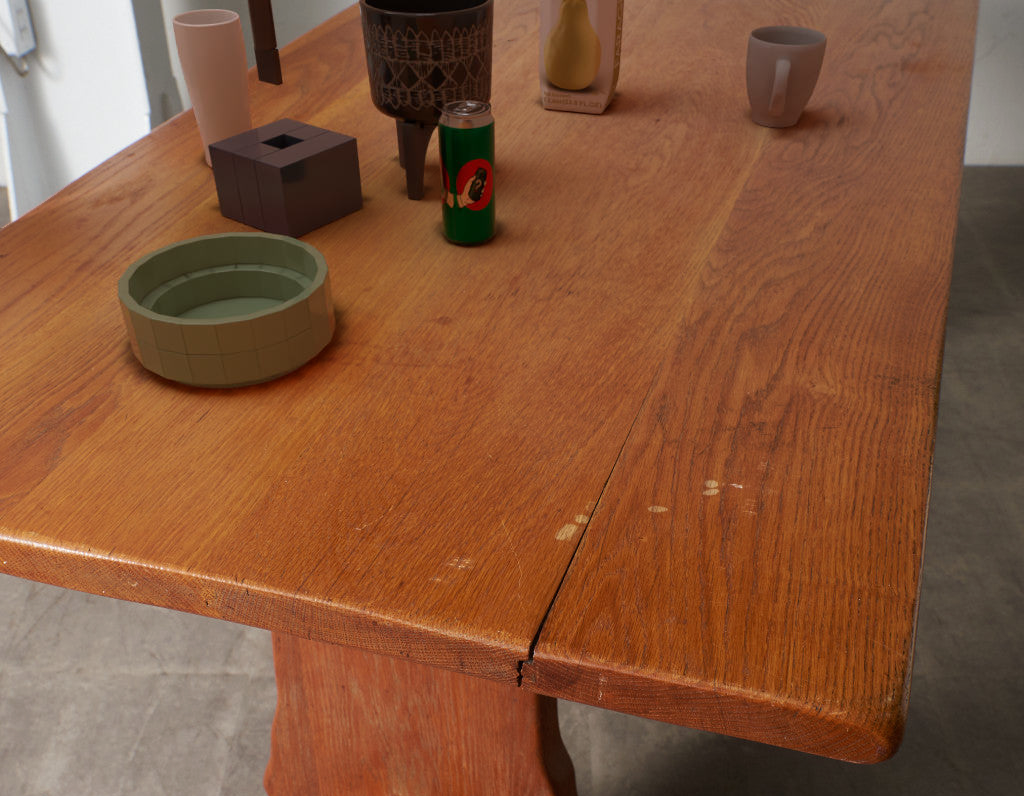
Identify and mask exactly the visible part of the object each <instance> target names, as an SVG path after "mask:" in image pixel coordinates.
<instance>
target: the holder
mask: <svg viewBox="0 0 1024 796" xmlns="http://www.w3.org/2000/svg"><path fill="white" fill-rule="evenodd" d="M208 148H209V153H210V158H211V164H212V168H211V169H212V174H213V179H214V184H215V189H216V194H217V201H218V205H219V211H220V215H221V216H223V217H224V218H228V219H230V220H233V221H236V222H239V223H241V224H245V225H247V226H249V227H253V228H255V229H258V230H260V231H263V232H265V233H271V234H277V235H284V236H288V237H292V238H294V239H297V238H299V237H301V236H304V235H306V234H308V233H310V232H312V231H315V230H317V229H320V228H321V227H323V226H325V225H328V224H330V223H332V222H335V221H337V220H339V219H340V218H344V217H345V216H347V215H349V214H351V213H354V212H356V211H359V210H361V209H363V208H364V199H363V192H362V181H361V171H360V161H359V150H358V139H357V137H354V136H351V135H348V134H344V133H341V132H338V131H333V130H330V129H327V128H323V127H319V126H317V125H313V124H309V123H305V122H302V121H299V120H295V119H291V118H288V117H284V118H281V119H278V120H275V121H273V122H269V123H267V124H266V123H265V124H264V125H261V126H258V127H256V128H252V130H249V131H247V132H244V133H241V134H238V135H235V136H232V137H230V138H227V139H224V140H221V141H218V142H215V143H213V144H210V145H208Z"/></svg>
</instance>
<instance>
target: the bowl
mask: <svg viewBox="0 0 1024 796" xmlns="http://www.w3.org/2000/svg"><path fill="white" fill-rule="evenodd" d="M117 298H118V302H119V305H120V310H121V313H122V316H123V320H124V323H125V327H126V331H127V334H128V338H129V342H130V346H131V349H132V353H133V355H134V356H135V358H136V359H137V360H138V362H139V363H140V364H141V365H142V366H143V368H144V369H146V370H148V371H150V372H152V373H154V374H156V375H158V376H160V377H162V378H164V379H167V380H171V381H174V382H176V383H179V384H182V385H186V386H191V387H195V388H196V387H197V388H203V389H204V388H205V389H234V388H242V387H243V388H244V387H248V386H255V385H259V384H264V383H267V382H271V381H273V380H276V379H277V380H278V378H282V377H284V376H286V375H289V374H290V373H293V372H295V371H296V370H299V368H301V367H303V366H304V365H306V364H307V363H308V362H309V361H311V360H312V359H313V358H315V357H317V356H318V355H319V354H320V352H321V351H322V350H323V349H325V347H326V346H328V344H329V343H330V342H331V341H332V338H333V335H334V332H335V329H336V324H337V323H336V317H335V308H334V300H333V292H332V284H331V276H330V269H329V266H328V263H327V260H326V257H325V255H324V254H323V253H322V252H321V251H320V250H318V248H316V247H314V245H312V244H310V243H308V242H306V241H303V240H299V239H297V238H295V239H294V238H292V237H288V236H284V235H277V234H271V233H269V232H265V231H263V232H262V231H229V232H219V233H211V234H203V235H198V236H195V237H190V238H186V239H182V240H179V241H174V242H172V243H169V244H167V245H165V246H162V247H160V248H157V249H155V250H153V251H150V252H147V253H145V254H144V255H143V256H141V257H140V258H138V259H137V260H136V261H134V262H132V263H131V264H130V265H128V266H127V268H126V269H125V271H124V272H123V273H122V275H121V276H120V277H119V278H118V281H117Z"/></svg>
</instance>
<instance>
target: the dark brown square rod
mask: <svg viewBox="0 0 1024 796" xmlns="http://www.w3.org/2000/svg"><path fill="white" fill-rule="evenodd" d="M246 1H247V8H248V14H249V21H250V22H249V23H250V28H251V33H252V34H251V35H252V41H253V50H254V57H255V63H256V71H257V77H258V81H259V82H263V83H266V84H269V85H274V86H281V85H283V84H284V81H283V73H282V65H281V60H280V59H281V58H280V52H279V48H278V42H277V34H276V25H275V19H274V13H273V11H274V10H273V4H272V0H246Z"/></svg>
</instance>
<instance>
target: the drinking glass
mask: <svg viewBox="0 0 1024 796" xmlns="http://www.w3.org/2000/svg"><path fill="white" fill-rule="evenodd" d="M241 23H242V22H241V19H240V15H239V13H237V12H235V11H233V10H229V9H220V8H219V9H217V8H210V9H208V8H206V9H196V10H189V11H185V12H181V13H178V14H177V15H175V16H174V17H173V18H172V25H173V26H172V27H173V33H174V40H175V45H176V50H177V55H178V59H179V63H180V68H181V71H182V75H183V79H184V82H185V86H186V89H187V93H188V96H189V100H190V104H191V107H192V110H193V114H194V117H195V121H196V124H197V128H198V132H199V136H200V139H201V144H202V147H203V152H204V158H205V162H206V163H207V165H208V166H209V167H210V168H211V169H212V164H211V158H210V153H209V148H208V145H210V144H213V143H215V142H218V141H221V140H224V139H227V138H230V137H232V136H235V135H238V134H241V133H244V132H247V131H249V130H252V129H253V123H252V110H251V109H252V108H251V98H250V96H251V95H250V84H249V83H250V82H249V69H248V59H247V58H248V57H247V50H246V45H245V38H244V32H243V27H242V24H241Z"/></svg>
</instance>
